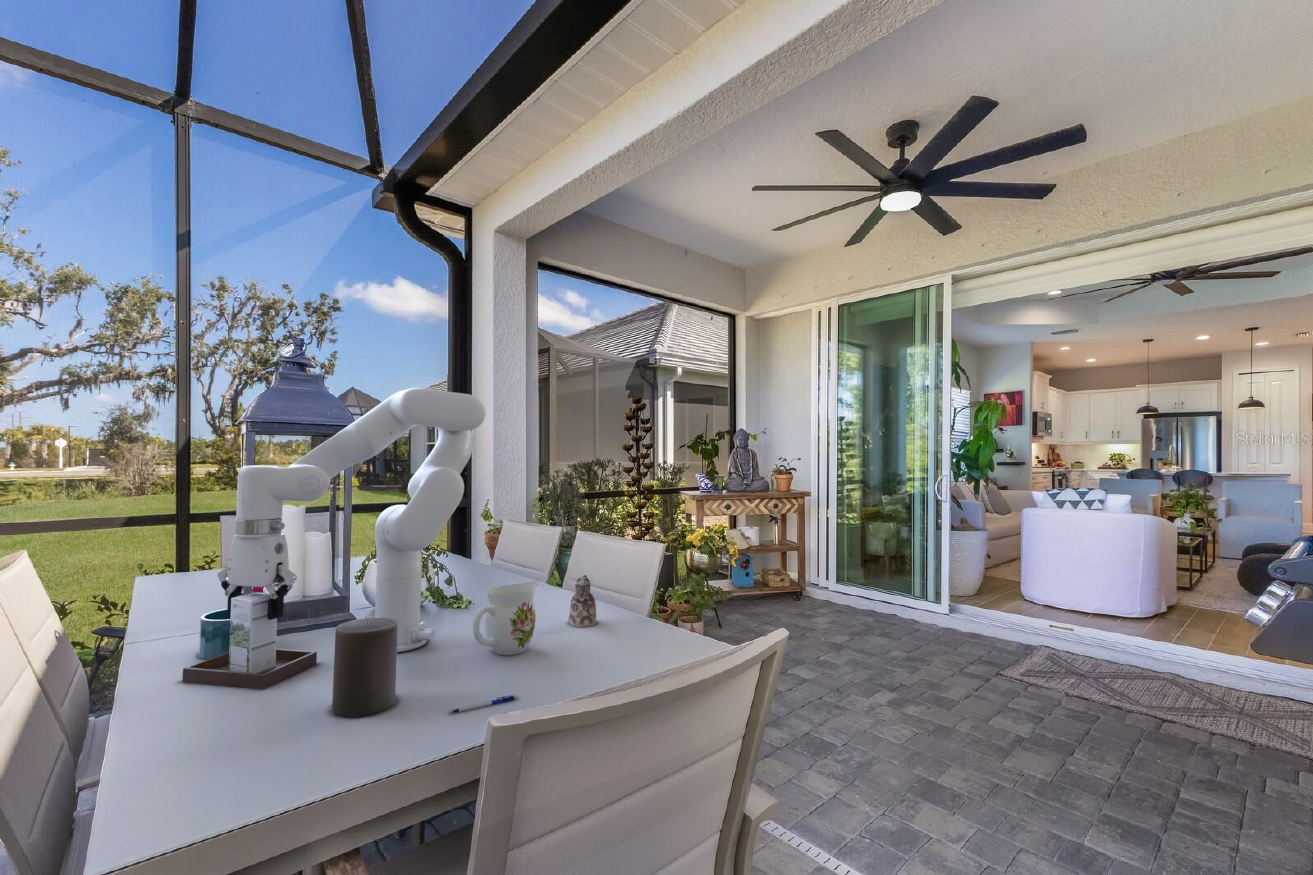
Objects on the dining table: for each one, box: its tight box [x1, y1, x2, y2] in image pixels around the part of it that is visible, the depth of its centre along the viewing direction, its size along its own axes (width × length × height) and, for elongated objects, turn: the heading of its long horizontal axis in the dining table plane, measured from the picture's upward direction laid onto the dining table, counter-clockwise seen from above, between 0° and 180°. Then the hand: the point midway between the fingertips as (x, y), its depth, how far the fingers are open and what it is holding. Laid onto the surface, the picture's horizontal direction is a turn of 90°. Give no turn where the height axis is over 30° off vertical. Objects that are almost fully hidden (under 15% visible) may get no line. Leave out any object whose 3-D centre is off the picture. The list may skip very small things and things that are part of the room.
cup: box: [198, 608, 231, 660], centre depth 125 cm, size 11×11×8 cm
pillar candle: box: [331, 616, 398, 718], centre depth 98 cm, size 10×10×15 cm
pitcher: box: [472, 581, 540, 656], centre depth 127 cm, size 11×18×14 cm, turn 146°
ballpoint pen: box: [452, 695, 515, 713], centre depth 99 cm, size 10×1×1 cm, turn 125°
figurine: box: [568, 574, 597, 628], centre depth 150 cm, size 7×7×12 cm
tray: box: [181, 648, 318, 690], centre depth 112 cm, size 17×13×2 cm
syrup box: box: [229, 592, 278, 673], centre depth 112 cm, size 6×6×14 cm
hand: (255, 616), depth 113 cm, fingers open, 8 cm apart
